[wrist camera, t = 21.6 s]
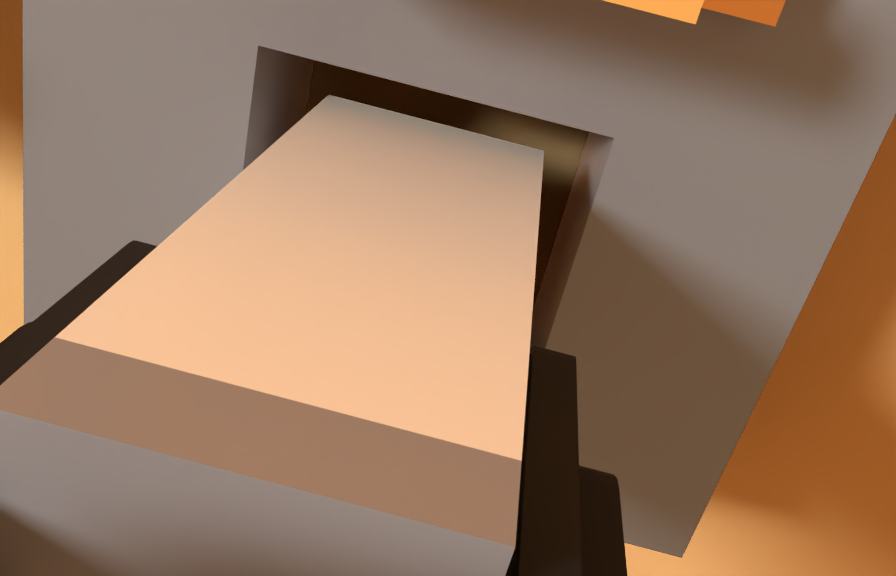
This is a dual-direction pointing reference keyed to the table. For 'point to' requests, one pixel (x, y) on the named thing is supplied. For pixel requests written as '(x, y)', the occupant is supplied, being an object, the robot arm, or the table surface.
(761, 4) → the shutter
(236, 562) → the plug
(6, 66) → the table surface
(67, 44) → the socket housing
